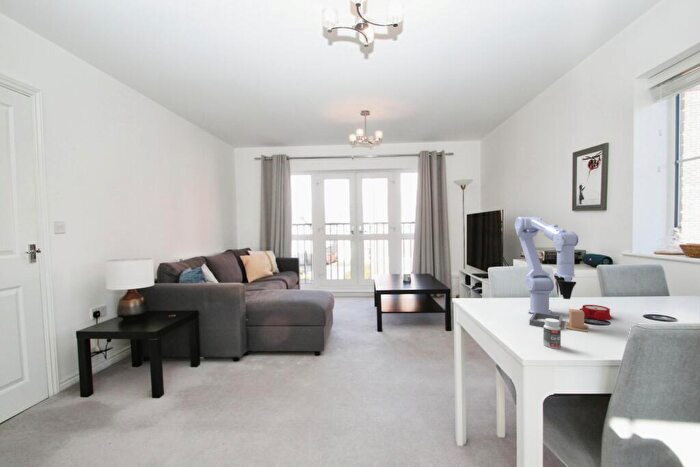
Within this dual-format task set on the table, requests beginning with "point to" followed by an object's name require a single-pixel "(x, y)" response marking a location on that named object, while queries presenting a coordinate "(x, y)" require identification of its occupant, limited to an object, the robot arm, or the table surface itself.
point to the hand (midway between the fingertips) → (565, 296)
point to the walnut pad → (577, 328)
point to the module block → (576, 318)
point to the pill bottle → (552, 333)
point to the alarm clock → (596, 312)
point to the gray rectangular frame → (543, 316)
